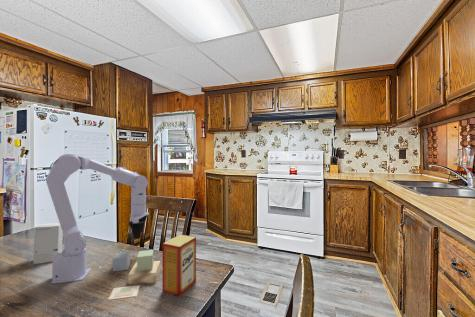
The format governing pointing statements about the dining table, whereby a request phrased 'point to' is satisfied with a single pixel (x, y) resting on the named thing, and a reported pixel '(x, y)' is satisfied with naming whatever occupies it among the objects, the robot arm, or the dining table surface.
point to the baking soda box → (179, 264)
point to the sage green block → (145, 260)
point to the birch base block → (144, 274)
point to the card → (124, 292)
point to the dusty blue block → (121, 261)
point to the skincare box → (47, 242)
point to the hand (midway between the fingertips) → (138, 235)
